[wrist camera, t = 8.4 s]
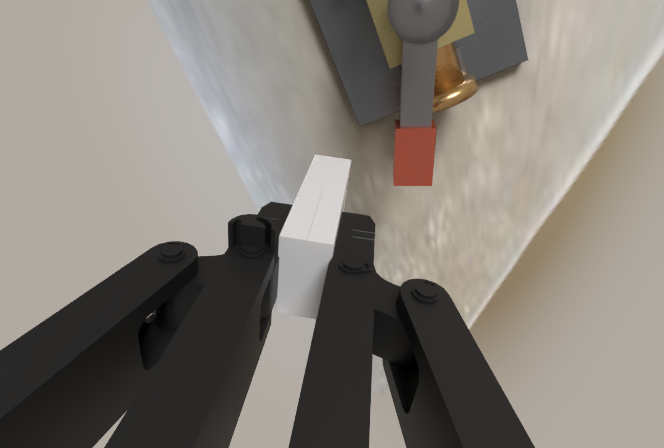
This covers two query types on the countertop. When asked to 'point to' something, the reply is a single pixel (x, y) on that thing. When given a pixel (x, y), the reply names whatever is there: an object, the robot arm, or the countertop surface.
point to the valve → (386, 51)
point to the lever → (417, 85)
